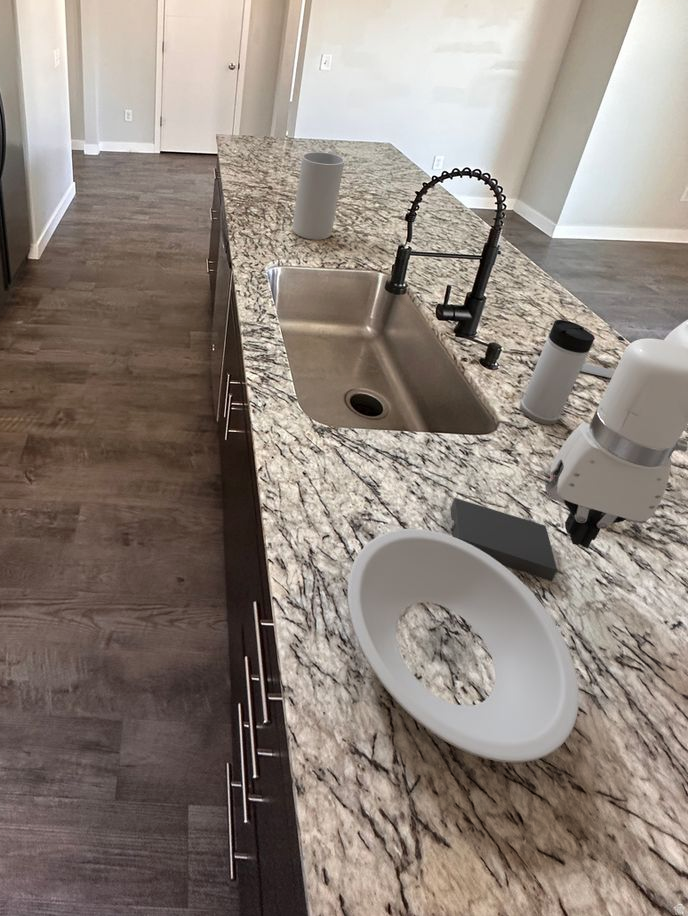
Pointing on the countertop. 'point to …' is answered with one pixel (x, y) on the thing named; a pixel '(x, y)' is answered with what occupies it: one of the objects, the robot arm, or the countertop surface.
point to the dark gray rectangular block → (505, 538)
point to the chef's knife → (595, 370)
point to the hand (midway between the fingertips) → (576, 536)
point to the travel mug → (556, 371)
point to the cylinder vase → (317, 195)
